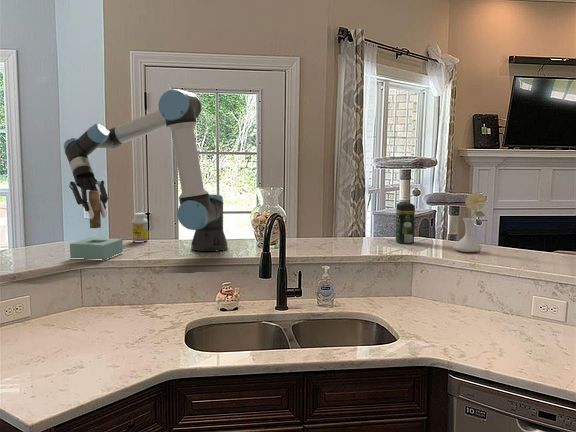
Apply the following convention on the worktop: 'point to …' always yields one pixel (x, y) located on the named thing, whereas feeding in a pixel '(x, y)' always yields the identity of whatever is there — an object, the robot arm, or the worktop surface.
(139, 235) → the supplement bottle
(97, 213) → the dowel
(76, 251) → the socket block
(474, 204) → the flower in vase
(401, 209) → the coffee jar
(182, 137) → the robot arm
